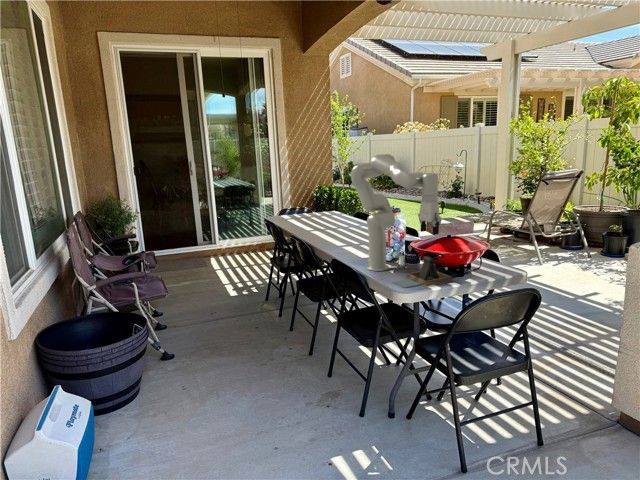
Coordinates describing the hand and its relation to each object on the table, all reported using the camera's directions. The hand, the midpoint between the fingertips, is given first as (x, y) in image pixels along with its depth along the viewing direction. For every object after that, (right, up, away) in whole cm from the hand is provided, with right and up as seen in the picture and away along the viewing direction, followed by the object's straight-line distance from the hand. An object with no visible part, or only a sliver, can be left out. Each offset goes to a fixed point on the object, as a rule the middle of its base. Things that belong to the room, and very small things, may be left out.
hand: (429, 232), depth 221 cm
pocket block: (+1, -24, +5) cm, 25 cm away
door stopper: (+1, -24, +5) cm, 25 cm away
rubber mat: (-11, -26, 0) cm, 28 cm away
